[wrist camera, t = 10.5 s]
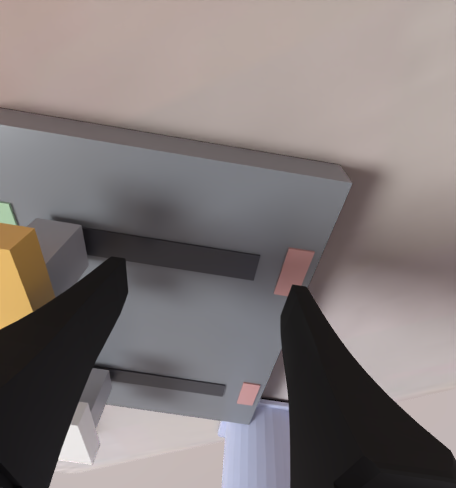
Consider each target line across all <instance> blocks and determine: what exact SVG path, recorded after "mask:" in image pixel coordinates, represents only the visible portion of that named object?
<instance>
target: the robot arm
mask: <svg viewBox="0 0 456 488" xmlns="http://www.w3.org/2000/svg"><path fill="white" fill-rule="evenodd" d="M127 295H128V281H127V270H126V259H125V258H119V257H113V256H111V257H110V258H108V259H107V260H106V261H104V262H103V263H102V264H100V265H99V266H98V267H97V268H95V269H94V270H93V271H91V272H90V273H89V274H87V275H86V276H85V277H84V278H82V279H81V280H80V281H78V282H77V283H75V284H74V285H73V286H71V287H70V288H69V289H67V290H66V291H64V292H63V293H61V294H60V295H58V296H57V297H55V298H54V299H53V300H51V301H50V302H48V303H46V304H45V305H43V306H42V307H40V308H39V309H37V310H35V311H33V312H32V313H30V314H28V315H27V316H25V317H23V318H21V319H19V320H18V321H16V322H14V323H12V324H10V325H8V326H6V327H4V328H2V329H0V488H49V486H50V482H51V479H52V476H53V473H54V470H55V467H56V464H57V461H58V458H59V455H60V452H61V449H62V446H63V444H64V441H65V438H66V435H67V433H68V430H69V427H70V424H71V421H72V419H73V416H74V413H75V411H76V408H77V406H78V403H79V400H80V398H81V395H82V393H83V390H84V388H85V385H86V383H87V380H88V378H89V375H90V373H91V371H92V368H93V366H94V364H95V362H96V360H97V358H98V356H99V354H100V352H101V350H102V349H103V347H104V345H105V343H106V341H107V339H108V337H109V335H110V333H111V331H112V330H113V328H114V326H115V324H116V322H117V320H118V318H119V316H120V314H121V311H122V309H123V306H124V304H125V301H126V298H127ZM280 332H281V345H282V352H283V360H284V367H285V374H286V381H287V389H288V400H289V403H285V402H278V401H272V400H265V399H260V400H259V403H258V405H257V407H256V410H255V412H254V414H253V417H252V419H251V421H250V424H249V425H247V424H240V423H233V422H226V421H221V422H220V426H219V429H218V436H220V437H224V438H225V447H224V461H223V476H222V488H456V460H455V458H454V456H453V454H452V452H451V451H450V450H449V449H448V448H447V447H446V446H444V445H443V444H442V443H441V442H440V441H438V440H437V439H436V438H435V437H434V436H432V435H431V434H430V433H429V432H427V431H426V430H425V429H424V428H423V427H422V426H420V425H419V424H418V423H417V422H416V421H415V420H414V419H413V418H412V417H411V416H409V415H408V414H407V413H406V412H405V411H404V410H403V409H402V408H401V407H400V406H399V405H398V404H397V403H396V402H394V401H393V400H392V399H391V398H390V397H389V396H388V395H387V394H386V393H385V392H384V391H383V389H382V388H381V387H380V386H379V385H378V384H377V383H376V382H375V381H374V380H373V379H372V378H371V377H370V376H369V375H368V374H367V372H366V371H365V370H364V369H363V368H362V367H361V365H360V364H359V363H358V362H357V361H356V360H355V358H354V357H353V356H352V355H351V353H350V352H349V351H348V350H347V348H346V347H345V345H344V344H343V343H342V341H341V340H340V339H339V337H338V336H337V334H336V333H335V332H334V330H333V329H332V327H331V326H330V324H329V322H328V321H327V319H326V318H325V316H324V315H323V313H322V312H321V310H320V308H319V307H318V305H317V303H316V302H315V300H314V298H313V297H312V295H311V293H310V292H309V290H308V288H307V287H306V286H300V285H293V284H292V286H291V289H290V292H289V294H288V297H287V300H286V302H285V305H284V307H283V310H282V313H281V315H280Z"/></svg>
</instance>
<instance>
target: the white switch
mask: <svg viewBox="0 0 456 488" xmlns="http://www.w3.org/2000/svg"><path fill="white" fill-rule="evenodd" d="M111 390H112V384H111V379H110V373H109V370H104V369H97V368H92V371H91V373H90V375H89V378H88V380H87V383H86V385H85V388H84V390H83V393H82V395H81V398H80V400H79V403H78V406H77V408H76V411H75V413H74V416H73V419H72V421H71V424H70V427H69V430H68V433H67V435H66V438H65V441H64V444H63V446H62V449H61V452H60V455H59V458H58V460H60V461H67V462H75V463H82V464H89V465H93V462H94V460H95V457H96V454H97V452H98V449H99V446H100V441H99V438H98V435H97V431H96V427H97V424H98V422H99V419H100V417H101V414H102V412H103V409H104V407H105V404H106V402H107V400H108V397H109V395H110V392H111Z"/></svg>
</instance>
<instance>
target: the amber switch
mask: <svg viewBox="0 0 456 488" xmlns="http://www.w3.org/2000/svg"><path fill="white" fill-rule="evenodd" d="M88 266H89V263H88V258H87V252H86V247H85V242H84V236H83V231H82V225H78V224H72V223H66V222H59V221H53V220H47V219H40V218H36V219H35V220H33V221H32V222H31V223H30V224H29V225H27V226H26V227H24V226H18V225H11V224H5V223H0V329H2V328H4V327H6V326H8V325H10V324H12V323H14V322H16V321H18V320H19V319H21V318H23V317H25V316H27V315H28V314H30V313H32V312H33V311H35V310H37V309H39V308H40V307H42V306H43V305H45V304H46V303H48V302H50V301H51V300H53V299H54V298H55V297H57V296H58V295H60V294H61V293H63V292H64V291H66V290H67V289H69V288H70V287H71V286H73V285H74V284H75V283H77V281H78V280H79V278H80V277H81V276H82V274H83V273H84V272H85V270H86V269H87V267H88Z"/></svg>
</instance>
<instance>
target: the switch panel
mask: <svg viewBox="0 0 456 488" xmlns="http://www.w3.org/2000/svg"><path fill="white" fill-rule="evenodd" d="M351 186H352V181H351V180H350V179H349V177H348V176H347V174H346V173H345V171H344V170H343V168H342V167H341V166H340V165H338V164H332V163H326V162H320V161H314V160H308V159H302V158H296V157H290V156H284V155H278V154H272V153H266V152H260V151H254V150H248V149H242V148H236V147H230V146H224V145H218V144H212V143H206V142H201V141H195V140H189V139H183V138H177V137H171V136H165V135H159V134H153V133H147V132H141V131H135V130H129V129H123V128H117V127H111V126H105V125H99V124H93V123H87V122H81V121H75V120H69V119H63V118H57V117H51V116H45V115H40V114H34V113H28V112H22V111H16V110H10V109H4V108H0V223H5V224H11V225H18V226H24V227H26V226H27V225H29V224H30V223H31V222H32V221H33V220H35V219H36V218H40V219H47V220H53V221H59V222H66V223H72V224H78V225H82V231H83V236H84V242H85V247H86V252H87V258H88V263H89V266H88V267H87V269H86V270H85V272H84V273H83V274H82V276H81V277H80V278H79V280H78V281H80V280H81V279H82V278H84V277H85V276H86V275H87V274H89V273H90V272H91V271H93V270H94V269H95V268H97V267H98V266H99V265H100V264H102V263H103V262H104V261H106V260H107V259H108V258H110V257H111V256H113V257H119V258H125V259H126V270H127V281H128V295H127V298H126V301H125V304H124V306H123V309H122V311H121V314H120V316H119V318H118V320H117V322H116V324H115V326H114V328H113V330H112V331H111V333H110V335H109V337H108V339H107V341H106V343H105V345H104V347H103V349H102V350H101V352H100V354H99V356H98V358H97V360H96V362H95V364H94V366H93V368H97V369H104V370H109V373H110V379H111V384H112V390H111V392H110V395H109V397H108V400H107V402H106V405H113V406H120V407H127V408H134V409H141V410H148V411H155V412H162V413H169V414H176V415H183V416H190V417H197V418H205V419H212V420H219V421H226V422H233V423H240V424H247V425H249V424H250V421H251V419H252V417H253V414H254V412H255V410H256V407H257V405H258V403H259V400H260V398H261V396H262V393H263V391H264V389H265V386H266V384H267V382H268V379H269V377H270V375H271V372H272V370H273V368H274V365H275V363H276V361H277V358H278V356H279V354H280V351H281V349H282V345H281V332H280V315H281V313H282V310H283V307H284V305H285V302H286V300H287V297H288V294H289V292H290V289H291V286H292V284H293V285H300V286H306V287H307V288H308V286H309V284H310V281H311V279H312V277H313V274H314V272H315V270H316V267H317V265H318V263H319V260H320V258H321V256H322V253H323V251H324V249H325V246H326V244H327V242H328V239H329V237H330V235H331V232H332V230H333V228H334V225H335V223H336V221H337V218H338V216H339V214H340V211H341V209H342V207H343V204H344V202H345V200H346V197H347V195H348V193H349V190H350V188H351ZM78 281H77V282H78Z"/></svg>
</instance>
